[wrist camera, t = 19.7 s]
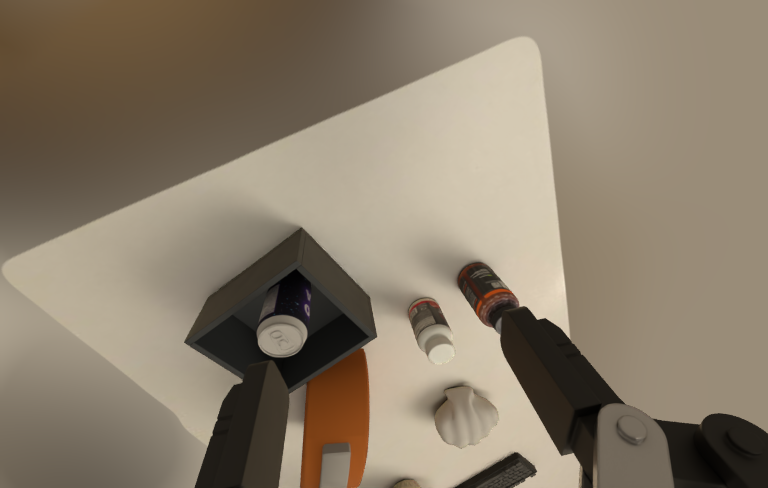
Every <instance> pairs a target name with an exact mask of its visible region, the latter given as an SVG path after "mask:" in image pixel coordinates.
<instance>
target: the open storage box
mask: <svg viewBox="0 0 768 488" xmlns="http://www.w3.org/2000/svg"><path fill="white" fill-rule="evenodd" d="M295 269H297V270H298V271H299V272H300V273H301V274H302V275H303V276H304V277H306V278H307V279H308V280H309V281H310V282H311V283H312V289H311V303H310V316H309V329H308V337H307V339H306V341H305V342H304V344H303V346H302V348H301V349H300V350H299V351H298V352H297V353H296V354H294V355H291V356H288V357H273V356H270V355H268V354H266V353H264V352H263V351H262V350H261V349H260V347H259V345H258V338H257V335H256V330H257V326H258V323H259V319H260V316H261V312H262V309H263V305H264V301H265V298H266V294H267V291H268V288H270V287H271V286H273V285H274V284H275V283H277V282H278V281H279V280H281V279H282V278H284V277H285V276H286V275H288V274H289V273H291V272H292V271H293V270H295ZM376 337H377V333H376V328H375V323H374V318H373V313H372V307H371V302H370V297H369V296H368V295H367V294H366V293H365V292H364V291H363V290H362V289H361V288H360V287H359V286H358V285H357V284H356V283H355V282H354V281H353V280H352V279H351V277H350V276H349V275H348V274H347V273H346V272H345V271H344V270H343V269H342V268H341V267H340V266H339V265H338V264H337V263H336V262H335V261H334V260H333V259H332V258H331V257H330V256H329V255H328V254H327V253H326V252H325V251H324V250H323V249H322V248H321V247H320V246H319V244H318V243H317V242H316V241H315V240H314V239H313V238H312V237H311V236H310V235H309V234H308V233H307V232H306V231H305V230H304V229H303V228H301V229H299V230H298V231H297V232H295V233H294V234H293V235H291V236H290V237H289V238H287V239H286V240H285V241H283V242H282V243H281V244H279V245H278V246H277V247H275V248H274V249H273V250H271V251H270V252H269V253H267V254H266V255H265V256H263V257H262V258H261V259H259V260H258V261H257V262H255V263H254V264H253V265H251V266H250V267H249V268H247V269H246V270H245V271H243V272H242V273H240V274H239V275H238V276H236V277H235V278H234V279H232V280H231V281H230V282H228V283H227V284H226V285H224V286H223V287H222V288H220V289H219V290H218V291H216V292H215V293H214V294H212V295H211V296H210V297H208V299H207V301H206V303H205V305H204V306H203V308H202V310H201V312H200V314H199V316H198V317H197V319H196V321H195V323H194V325H193V327H192V328H191V330H190V332H189V334H188V336H187V338H186V340H185V341H184V343H186V344H187V345H190V347H192V348H193V349H195V350H197V351H198V352H200V353H201V354H203V355H205V356H206V357H208V358H209V359H211V360H213V361H214V362H216V363H217V364H219V365H221V366H222V367H224V368H225V369H227V370H229V371H230V372H232V373H233V374H235V375H237V376H238V377H240V378H241V379H243V378H244V375H245V371H246V369H247V367H248V366H249V365H250V364H255V363H260V362H264V361H269V360H273V361H274V362H275V364H276V366H277V368H278V370H279V372H280V374H281V376H282V378H283V380H284V382H285V384H286V385H287V388H288V392H289V394H290V393H291V392H293V391H294V390H296V389H297V388H299V387H301V386H302V385H304V384H305V383H307V382H308V381H310V380H311V379H313V378H315V377H316V376H318V375H319V374H321V373H322V372H324V371H325V370H327V369H328V368H330V367H332V366H333V365H335V364H336V363H338V362H339V361H341V360H342V359H344V358H345V357H347V356H349V355H350V354H352V353H353V352H355V351H356V350H358V349H359V348H361V347H362V346H364V345H366V344H367V343H369V342H370V341H372V340H373V339H375V338H376Z"/></svg>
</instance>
